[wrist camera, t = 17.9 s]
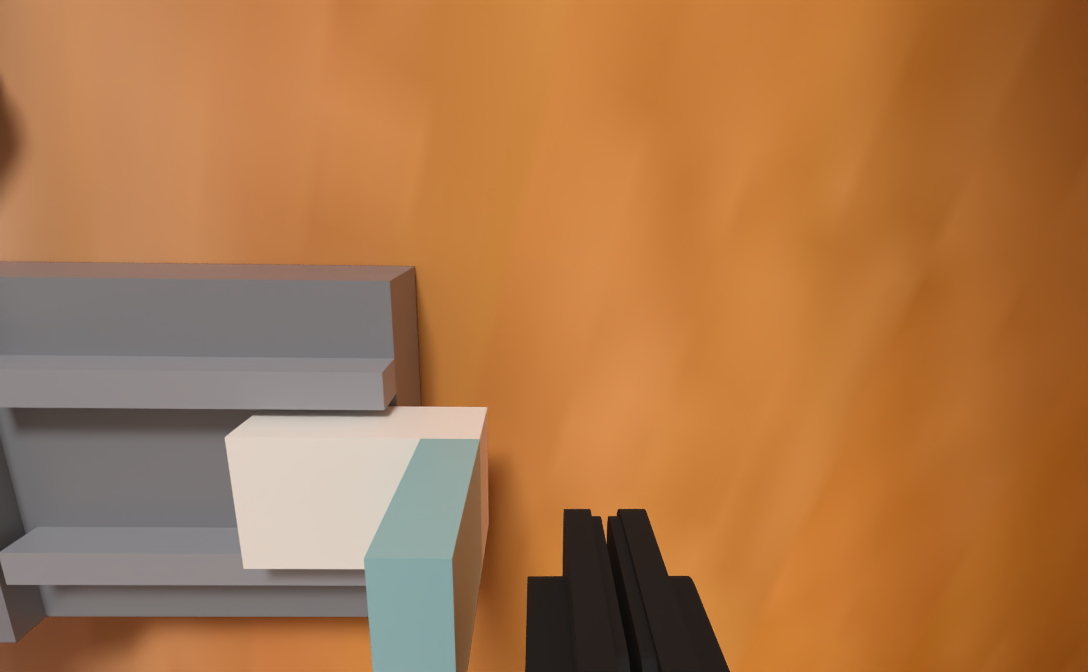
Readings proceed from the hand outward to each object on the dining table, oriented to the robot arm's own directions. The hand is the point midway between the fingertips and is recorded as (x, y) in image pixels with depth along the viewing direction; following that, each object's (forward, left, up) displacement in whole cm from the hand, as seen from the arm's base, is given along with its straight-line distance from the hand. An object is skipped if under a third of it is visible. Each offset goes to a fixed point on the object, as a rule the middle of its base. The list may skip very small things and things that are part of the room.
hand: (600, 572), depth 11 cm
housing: (+15, 0, -8) cm, 17 cm away
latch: (+6, 0, -4) cm, 7 cm away
